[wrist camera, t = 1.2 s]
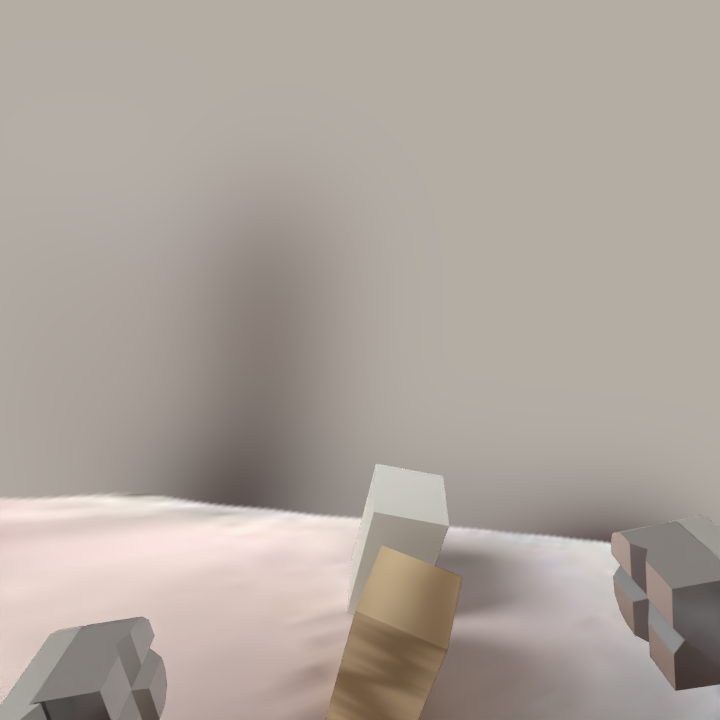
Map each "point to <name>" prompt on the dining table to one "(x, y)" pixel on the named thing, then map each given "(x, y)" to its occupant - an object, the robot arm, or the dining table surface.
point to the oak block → (395, 640)
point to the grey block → (398, 522)
